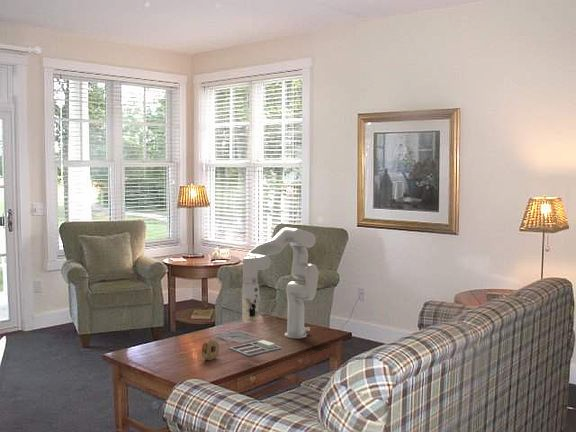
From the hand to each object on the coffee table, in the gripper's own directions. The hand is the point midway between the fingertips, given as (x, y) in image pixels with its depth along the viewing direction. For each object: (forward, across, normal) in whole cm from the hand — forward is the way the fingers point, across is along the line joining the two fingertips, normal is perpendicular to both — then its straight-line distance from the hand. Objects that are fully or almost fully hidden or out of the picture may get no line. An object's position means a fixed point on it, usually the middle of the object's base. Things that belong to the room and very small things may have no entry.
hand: (250, 315), depth 325 cm
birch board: (+3, 0, 0) cm, 3 cm away
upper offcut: (+19, 0, -11) cm, 21 cm away
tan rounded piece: (+20, +3, +22) cm, 30 cm away
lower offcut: (+21, 0, -11) cm, 23 cm away
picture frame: (+21, +24, -11) cm, 34 cm away
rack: (+20, 0, -4) cm, 20 cm away
